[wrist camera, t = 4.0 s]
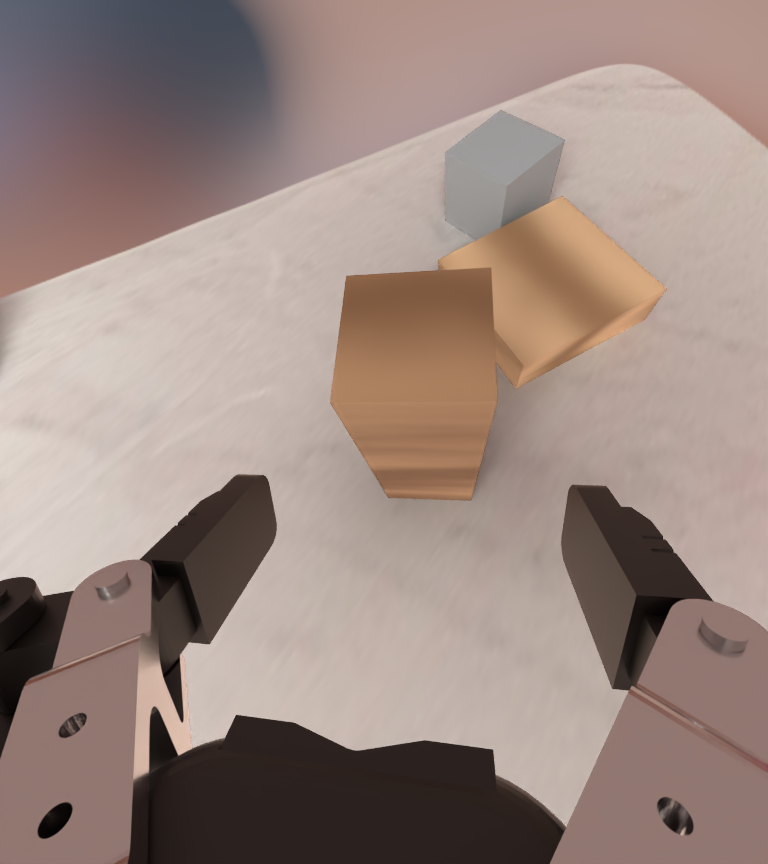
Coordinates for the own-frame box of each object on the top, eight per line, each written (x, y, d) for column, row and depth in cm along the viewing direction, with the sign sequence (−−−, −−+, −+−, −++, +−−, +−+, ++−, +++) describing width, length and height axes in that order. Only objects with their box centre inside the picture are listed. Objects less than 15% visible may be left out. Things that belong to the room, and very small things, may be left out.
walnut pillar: (470, 500, 21) (497, 401, 10) (388, 497, 22) (329, 402, 11) (469, 423, 23) (491, 267, 12) (393, 423, 24) (346, 275, 13)
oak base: (514, 391, 24) (523, 365, 21) (439, 293, 27) (438, 259, 24) (641, 323, 24) (666, 288, 21) (550, 235, 28) (562, 195, 25)
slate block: (496, 254, 27) (506, 186, 23) (445, 221, 29) (445, 152, 25) (545, 213, 28) (564, 139, 24) (492, 183, 30) (501, 110, 25)
